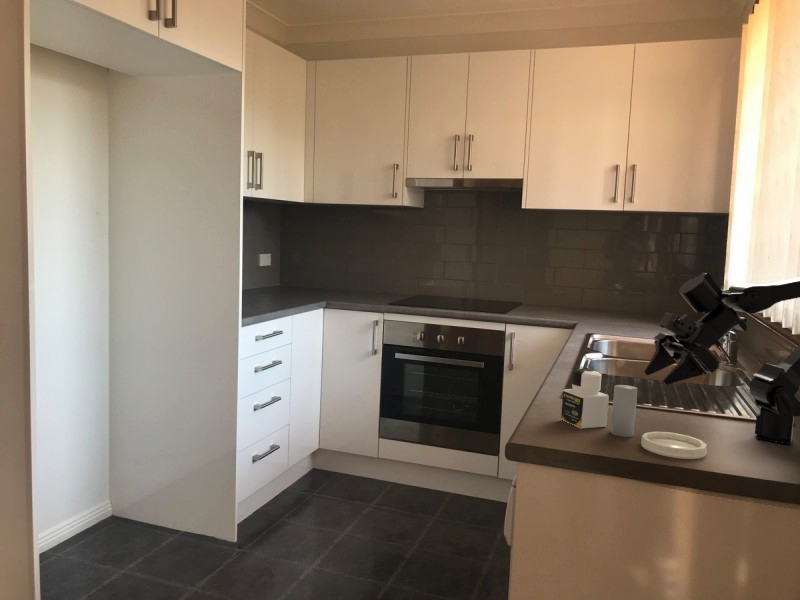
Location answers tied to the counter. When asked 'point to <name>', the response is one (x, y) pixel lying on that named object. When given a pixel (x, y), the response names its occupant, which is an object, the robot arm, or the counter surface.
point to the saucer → (674, 445)
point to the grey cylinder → (624, 410)
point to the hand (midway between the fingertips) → (654, 378)
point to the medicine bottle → (585, 401)
